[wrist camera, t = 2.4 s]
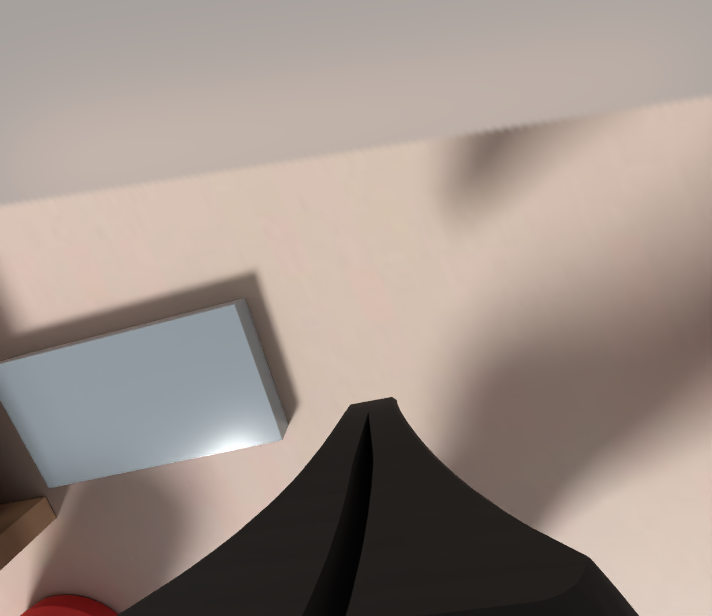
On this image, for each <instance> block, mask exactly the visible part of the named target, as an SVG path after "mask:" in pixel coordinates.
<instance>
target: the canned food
mask: <svg viewBox="0 0 712 616" xmlns="http://www.w3.org/2000/svg"><path fill="white" fill-rule="evenodd" d="M117 615H118V614H117V613H116V612H115V611H113V610H112V609H111V608H109V607H107V606H105V605H104V604H102V603H100V602H97V601H95V600H92V599H89V598H85V597H82V596H75V595H57V596H52V597H48V598H45V599H43V600H41V601H39V602H37V603H36V604H35V605H33V606H32V607H31V608H29V609H28V610H27V611H25V612H24V613H23V614H22V615H20V616H117Z"/></svg>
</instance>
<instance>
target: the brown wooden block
mask: <svg viewBox="0 0 712 616" xmlns="http://www.w3.org/2000/svg"><path fill="white" fill-rule="evenodd" d="M55 519H56V516H55V514H54V512H53V510H52V509H51V507H50V505H49V503H48V501H47V499H46V497H41V498H35V499H29V500H23V501H17V502H12V503H6V504H0V570H1V569H2V568H3V567H4V566H6V565H7V564H8V563H9V562H10V561H11V560H12V559H13V558H14V557H15V556H16V555H17V554H18V553H19V552H20V551H22V550H23V549H24V548H25V547H26V546H27V545H28V544H29V543H30V542H31V541H32V540H33V539H34V538H35V537H36V536H38V535H39V534H40V533H41V532H42V531H43V530H44V529H45V528H46V527H47V526H48V525H49V524H50V523H51V522H52V521H54V520H55Z"/></svg>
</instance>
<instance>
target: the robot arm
mask: <svg viewBox="0 0 712 616" xmlns="http://www.w3.org/2000/svg"><path fill="white" fill-rule="evenodd" d="M117 616H639V615H638V614H637V613H636V612H635V610H634V609H633V608H632V607H631V605H630V604H629V603H628V602H627V600H626V599H625V598H624V597H623V596H622V594H621V593H620V592H619V591H618V589H617V588H616V587H615V586H614V585H613V584H612V582H611V581H610V580H609V579H608V578H607V577H606V575H605V574H604V573H603V572H602V571H601V570H600V569H599V567H598V566H597V565H596V564H595V563H594V562H593V561H592V560H591V559H590V558H589V557H588V556H586V555H584V554H582V553H580V552H578V551H576V550H574V549H572V548H570V547H568V546H566V545H564V544H562V543H560V542H558V541H557V540H555V539H553V538H551V537H549V536H547V535H545V534H543V533H541V532H539V531H537V530H535V529H533V528H531V527H529V526H528V525H526V524H524V523H522V522H521V521H519V520H518V519H516V518H514V517H513V516H511V515H509V514H508V513H506V512H505V511H503V510H502V509H500V508H499V507H498V506H496V505H495V504H493V503H492V502H491V501H489V500H488V499H486V498H485V497H483V496H482V495H481V494H479V493H478V492H476V491H475V490H473V489H472V488H471V487H470V486H468V485H467V484H466V483H465V482H464V481H462V480H461V479H460V478H459V477H458V476H456V475H455V474H454V473H453V472H452V471H451V470H450V469H449V468H447V467H446V466H445V465H444V464H443V463H442V462H441V461H440V460H439V459H438V458H437V457H436V456H435V455H434V454H433V453H432V452H431V451H430V450H429V448H428V447H427V446H426V445H425V444H424V443H423V442H422V441H421V439H420V438H419V437H418V436H417V434H416V433H415V432H414V430H413V429H412V428H411V426H410V425H409V424H408V422H407V421H406V419H405V418H404V416H403V414H402V413H401V411H400V409H399V407H398V404H397V400H396V399H394V398H393V397H389V398H384V399H378V400H373V401H367V402H362V403H357V404H351V405H350V406H349V407H348V409H347V410H346V412H345V413H344V415H343V416H342V418H341V419H340V421H339V422H338V424H337V425H336V427H335V428H334V429H333V431H332V432H331V434H330V435H329V437H328V438H327V439H326V441H325V442H324V444H323V445H322V446H321V448H320V449H319V450H318V451H317V453H316V454H315V455H314V456H313V458H312V459H311V460H310V461H309V463H308V464H307V465H306V466H305V468H304V469H303V470H302V471H301V472H300V473H299V475H298V476H297V477H296V478H295V479H294V480H293V481H292V482H291V483H290V484H289V485H288V486H287V487H286V488H285V489H284V490H283V491H282V492H281V493H280V494H279V495H278V496H277V497H276V498H275V499H274V500H273V501H272V502H271V503H270V504H269V505H268V506H267V507H266V508H265V509H263V510H262V511H261V512H260V513H259V514H258V515H257V516H255V517H254V518H253V519H252V520H251V521H250V522H249V523H247V524H246V525H245V526H244V527H243V528H242V529H241V530H239V531H238V532H237V533H236V534H235V535H233V536H232V537H231V538H230V539H228V540H227V541H226V542H224V543H223V544H222V545H221V546H219V547H218V548H217V549H215V550H214V551H213V552H211V553H210V554H209V555H207V556H206V557H204V558H203V559H202V560H200V561H199V562H198V563H196V564H195V565H194V566H192V567H191V568H189V569H188V570H186V571H185V572H184V573H182V574H181V575H179V576H178V577H176V578H175V579H173V580H172V581H170V582H169V583H167V584H165V585H164V586H162V587H161V588H159V589H158V590H156V591H155V592H153V593H151V594H150V595H148V596H147V597H145V598H144V599H142V600H141V601H139V602H138V603H136V604H134V605H133V606H131V607H130V608H128V609H127V610H125V611H123V612H122V613H120V614H118V615H117Z"/></svg>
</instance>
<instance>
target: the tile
mask: <svg viewBox="0 0 712 616" xmlns="http://www.w3.org/2000/svg"><path fill="white" fill-rule="evenodd" d="M0 401H1V403H2V405H3V406H4V408H5V410H6V412H7V414H8V415H9V417H10V419H11V421H12V423H13V424H14V426H15V428H16V430H17V432H18V433H19V435H20V437H21V439H22V441H23V442H24V444H25V446H26V448H27V450H28V452H29V453H30V455H31V457H32V459H33V461H34V462H35V464H36V466H37V468H38V470H39V471H40V473H41V475H42V477H43V479H44V480H45V482H46V484H47V486H48V488H53V487H58V486H63V485H68V484H73V483H77V482H82V481H87V480H92V479H97V478H102V477H106V476H111V475H116V474H121V473H126V472H131V471H135V470H140V469H145V468H150V467H155V466H160V465H164V464H169V463H174V462H179V461H184V460H189V459H193V458H198V457H203V456H208V455H213V454H218V453H222V452H227V451H232V450H237V449H242V448H247V447H251V446H256V445H261V444H266V443H271V442H276V441H280V440H283V438H284V435H285V433H286V430H287V428H288V422H287V419H286V416H285V413H284V410H283V408H282V405H281V402H280V399H279V396H278V393H277V390H276V387H275V384H274V381H273V378H272V376H271V373H270V370H269V367H268V364H267V361H266V358H265V355H264V352H263V349H262V346H261V344H260V341H259V338H258V335H257V332H256V329H255V326H254V323H253V320H252V317H251V314H250V312H249V309H248V306H247V303H246V300H245V298H243V299H239V300H235V301H231V302H227V303H223V304H219V305H215V306H211V307H207V308H203V309H199V310H196V311H192V312H188V313H184V314H180V315H176V316H172V317H168V318H164V319H160V320H156V321H153V322H149V323H145V324H141V325H137V326H133V327H129V328H125V329H121V330H117V331H113V332H110V333H106V334H102V335H98V336H94V337H90V338H86V339H82V340H78V341H74V342H70V343H66V344H63V345H59V346H55V347H51V348H47V349H43V350H39V351H35V352H31V353H27V354H23V355H20V356H16V357H12V358H9V359H6V360H3V361H1V362H0Z"/></svg>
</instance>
